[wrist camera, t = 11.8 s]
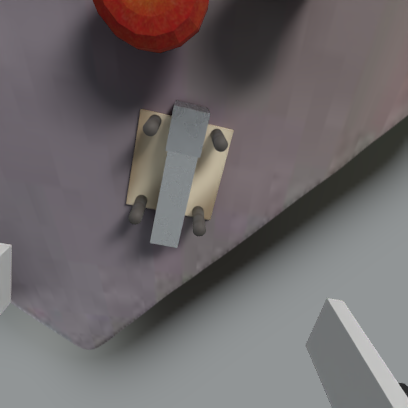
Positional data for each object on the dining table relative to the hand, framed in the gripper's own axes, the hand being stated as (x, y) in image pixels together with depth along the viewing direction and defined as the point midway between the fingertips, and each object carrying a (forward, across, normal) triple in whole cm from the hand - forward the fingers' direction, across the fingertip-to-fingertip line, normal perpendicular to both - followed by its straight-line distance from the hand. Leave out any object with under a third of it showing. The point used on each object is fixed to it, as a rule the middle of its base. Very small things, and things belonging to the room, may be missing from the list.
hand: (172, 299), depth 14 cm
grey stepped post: (+31, 0, -4) cm, 31 cm away
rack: (+32, 0, -4) cm, 32 cm away
